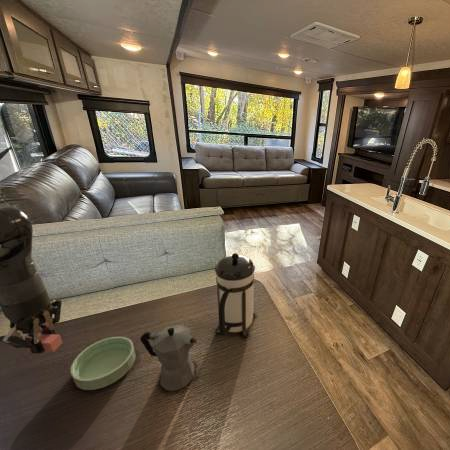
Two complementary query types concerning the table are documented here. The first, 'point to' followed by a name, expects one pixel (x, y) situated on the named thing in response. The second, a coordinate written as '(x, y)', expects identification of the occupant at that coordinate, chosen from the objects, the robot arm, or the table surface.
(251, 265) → the coffee press
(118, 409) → the table surface
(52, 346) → the eraser
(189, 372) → the coffeepot
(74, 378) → the bowl
